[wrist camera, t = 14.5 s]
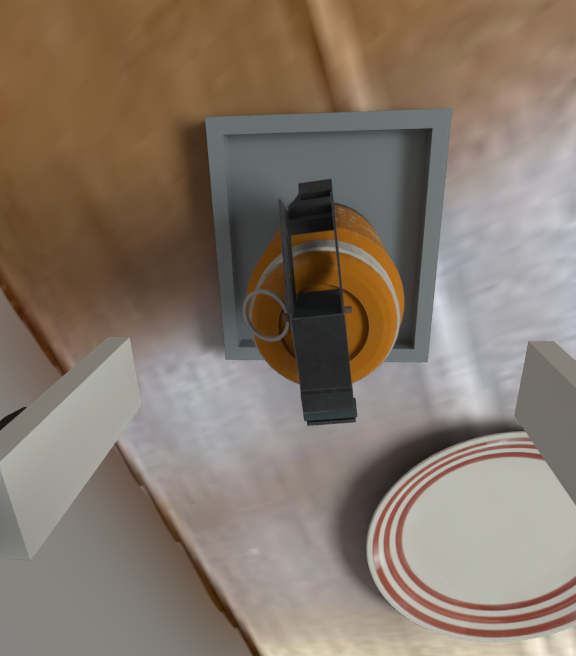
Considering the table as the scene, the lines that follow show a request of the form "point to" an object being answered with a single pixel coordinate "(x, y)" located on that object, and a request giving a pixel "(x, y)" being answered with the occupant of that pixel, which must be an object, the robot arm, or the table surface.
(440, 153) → the tray
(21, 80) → the table surface
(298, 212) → the canister
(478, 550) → the dinner plate
